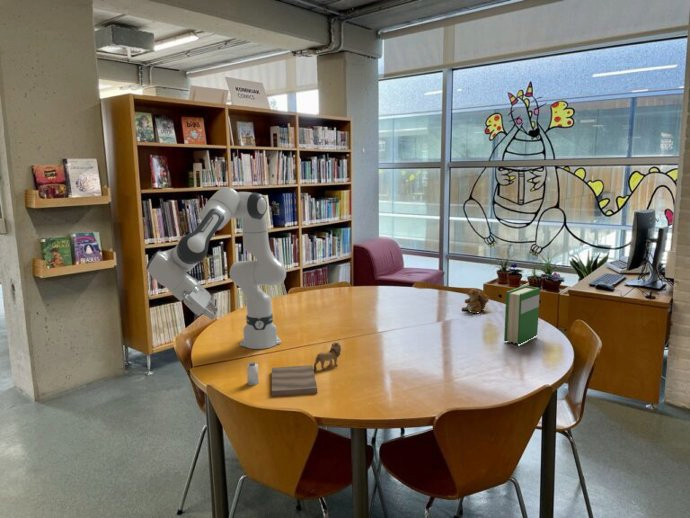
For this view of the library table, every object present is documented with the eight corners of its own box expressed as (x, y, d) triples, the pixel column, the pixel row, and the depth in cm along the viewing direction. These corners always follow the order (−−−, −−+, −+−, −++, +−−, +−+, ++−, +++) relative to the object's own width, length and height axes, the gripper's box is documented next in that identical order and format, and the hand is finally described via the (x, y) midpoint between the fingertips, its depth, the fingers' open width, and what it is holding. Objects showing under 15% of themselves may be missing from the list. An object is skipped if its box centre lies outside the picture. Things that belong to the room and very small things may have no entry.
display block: (271, 372, 198) (271, 367, 197) (312, 370, 200) (312, 365, 200) (272, 396, 176) (271, 391, 176) (317, 393, 179) (317, 387, 178)
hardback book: (519, 346, 225) (521, 294, 221) (504, 342, 230) (506, 291, 226) (537, 337, 237) (539, 288, 233) (522, 334, 242) (524, 285, 238)
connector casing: (247, 381, 190) (247, 361, 188) (258, 380, 190) (257, 360, 189) (247, 385, 186) (246, 365, 184) (258, 384, 186) (257, 364, 185)
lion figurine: (334, 360, 210) (334, 339, 209) (344, 363, 207) (344, 342, 205) (309, 370, 199) (309, 349, 198) (319, 374, 196) (318, 352, 194)
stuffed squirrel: (460, 310, 286) (460, 287, 284) (479, 307, 292) (480, 285, 290) (471, 314, 277) (472, 291, 275) (491, 311, 283) (492, 288, 281)
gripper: (187, 288, 169) (218, 315, 172) (196, 277, 189) (224, 301, 192) (174, 302, 169) (206, 329, 172) (184, 289, 189) (212, 313, 192)
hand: (215, 314), depth 182 cm, fingers open, 8 cm apart
